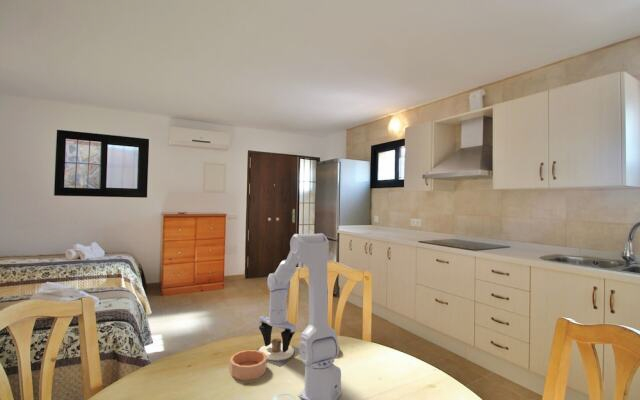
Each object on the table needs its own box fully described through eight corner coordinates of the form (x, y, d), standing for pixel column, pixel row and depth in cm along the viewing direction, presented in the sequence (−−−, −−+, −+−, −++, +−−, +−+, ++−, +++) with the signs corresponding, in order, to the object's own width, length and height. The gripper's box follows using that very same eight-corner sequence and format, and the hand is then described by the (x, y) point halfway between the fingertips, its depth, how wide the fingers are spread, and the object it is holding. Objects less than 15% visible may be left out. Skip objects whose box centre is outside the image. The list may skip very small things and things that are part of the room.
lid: (300, 350, 114) (300, 338, 114) (279, 364, 104) (280, 351, 104) (273, 341, 120) (273, 330, 120) (251, 354, 110) (251, 342, 110)
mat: (304, 351, 114) (304, 349, 114) (280, 367, 102) (280, 366, 102) (272, 341, 121) (272, 340, 121) (246, 356, 109) (246, 354, 109)
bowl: (273, 368, 102) (273, 355, 102) (249, 384, 92) (249, 370, 92) (247, 359, 107) (247, 347, 107) (222, 373, 98) (222, 360, 98)
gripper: (301, 309, 112) (300, 349, 112) (268, 301, 119) (267, 338, 119) (290, 315, 106) (288, 357, 106) (255, 306, 113) (254, 345, 113)
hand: (276, 348), depth 112 cm, fingers open, 7 cm apart
